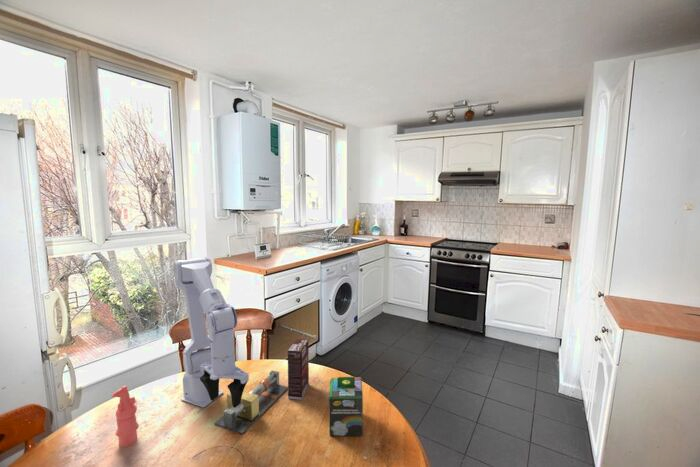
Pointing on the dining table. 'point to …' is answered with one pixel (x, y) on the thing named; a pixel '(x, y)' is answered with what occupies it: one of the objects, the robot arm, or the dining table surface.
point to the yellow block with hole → (246, 405)
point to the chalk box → (346, 406)
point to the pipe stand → (267, 396)
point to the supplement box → (298, 369)
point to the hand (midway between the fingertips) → (225, 401)
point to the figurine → (126, 418)
